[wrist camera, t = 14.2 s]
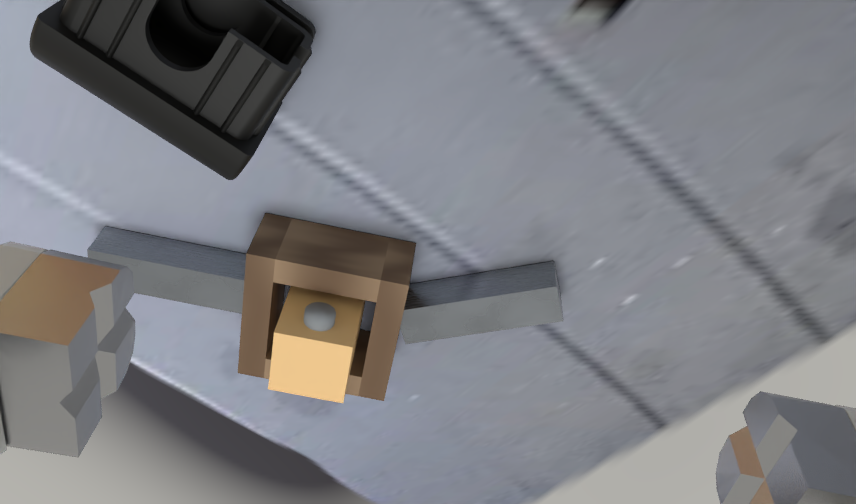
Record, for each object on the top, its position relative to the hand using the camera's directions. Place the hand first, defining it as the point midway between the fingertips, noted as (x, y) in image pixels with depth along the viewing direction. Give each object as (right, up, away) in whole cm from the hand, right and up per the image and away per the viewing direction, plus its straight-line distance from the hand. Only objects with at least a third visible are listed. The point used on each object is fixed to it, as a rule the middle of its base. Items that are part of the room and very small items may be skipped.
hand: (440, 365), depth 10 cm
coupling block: (-6, -1, +36) cm, 37 cm away
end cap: (-11, +12, +28) cm, 33 cm away
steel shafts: (-6, +1, +35) cm, 36 cm away
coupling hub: (-6, -1, +36) cm, 37 cm away
